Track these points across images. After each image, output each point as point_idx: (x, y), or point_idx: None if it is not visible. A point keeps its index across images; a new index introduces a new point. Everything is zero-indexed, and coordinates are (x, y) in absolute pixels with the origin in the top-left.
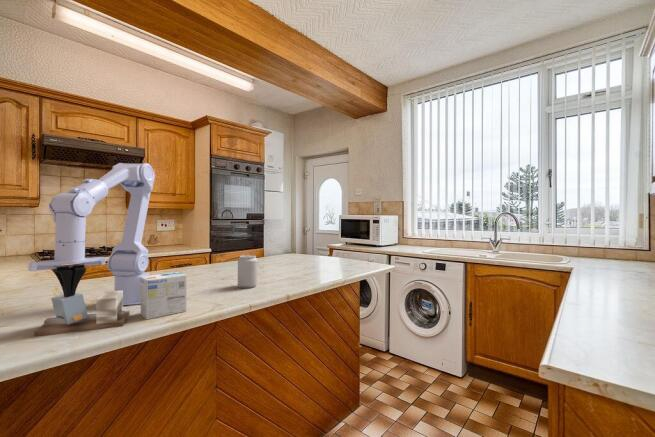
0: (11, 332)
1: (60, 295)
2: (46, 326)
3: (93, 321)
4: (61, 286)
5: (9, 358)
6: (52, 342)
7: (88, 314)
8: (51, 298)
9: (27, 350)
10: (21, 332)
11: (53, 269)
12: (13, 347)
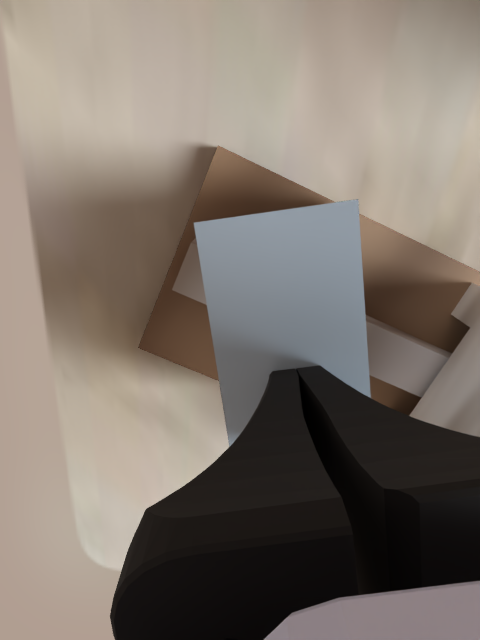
0: (48, 189)
1: (261, 241)
2: (186, 301)
3: (375, 382)
4: (255, 410)
5: (84, 518)
6: (199, 467)
7: (379, 333)
8: (196, 225)
9: (127, 488)
10: (91, 230)
11: (120, 631)
12: (83, 425)
